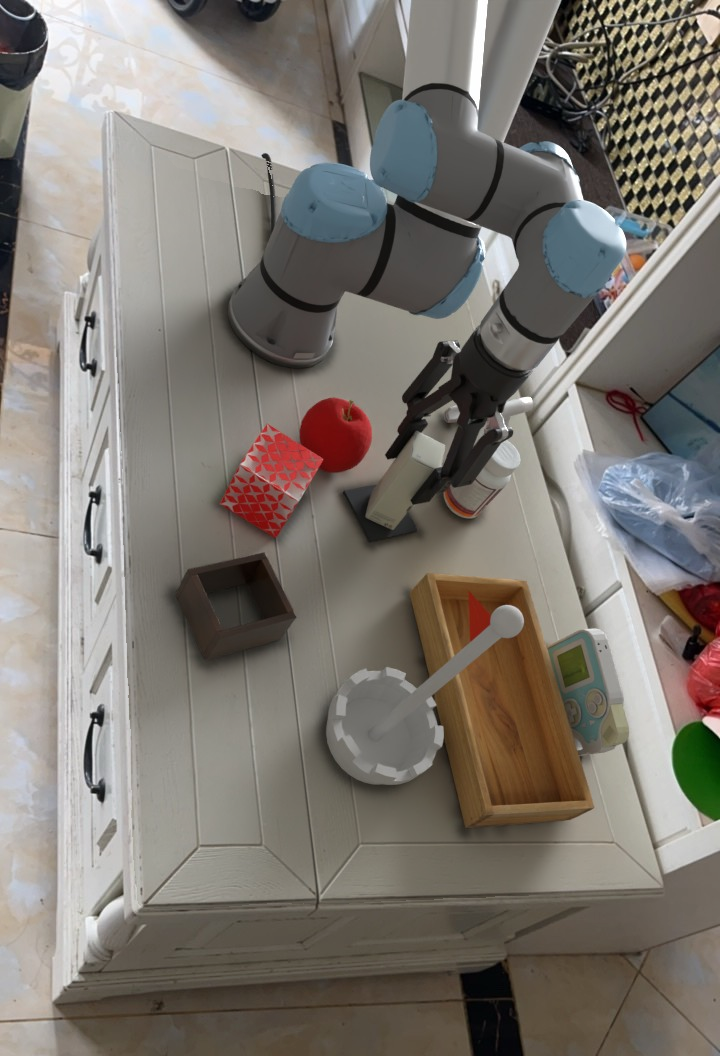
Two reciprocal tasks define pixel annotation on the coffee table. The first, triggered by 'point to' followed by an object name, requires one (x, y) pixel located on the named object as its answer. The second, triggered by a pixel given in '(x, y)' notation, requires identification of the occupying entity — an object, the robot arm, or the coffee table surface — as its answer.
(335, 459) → the fruit
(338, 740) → the flag stand
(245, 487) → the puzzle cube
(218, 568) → the box
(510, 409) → the tablet stand
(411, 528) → the mat
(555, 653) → the handheld gaming console
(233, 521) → the coffee table surface
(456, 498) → the pill bottle
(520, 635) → the tray
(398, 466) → the box
